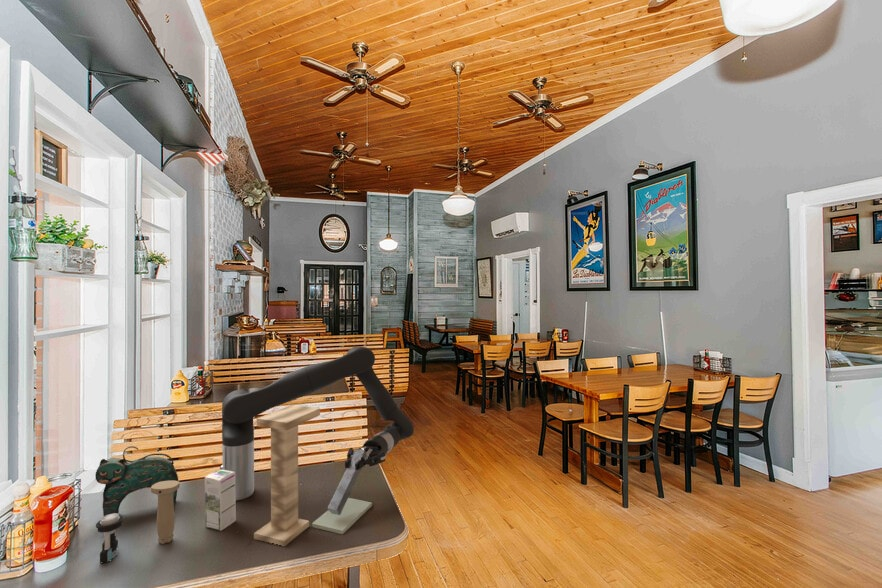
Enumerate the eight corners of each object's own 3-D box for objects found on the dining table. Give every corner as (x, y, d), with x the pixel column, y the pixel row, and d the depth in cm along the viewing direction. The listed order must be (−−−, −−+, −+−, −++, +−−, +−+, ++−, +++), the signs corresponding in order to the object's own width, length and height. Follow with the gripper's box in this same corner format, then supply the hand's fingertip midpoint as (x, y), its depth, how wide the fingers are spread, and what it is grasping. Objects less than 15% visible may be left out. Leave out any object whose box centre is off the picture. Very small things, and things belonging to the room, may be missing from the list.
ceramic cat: (95, 525, 118) (94, 455, 118) (98, 515, 123) (98, 447, 123) (178, 506, 129) (178, 441, 128) (178, 497, 134) (177, 435, 134)
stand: (254, 538, 112) (253, 419, 112) (292, 510, 126) (292, 404, 126) (284, 546, 109) (284, 423, 108) (319, 517, 123) (319, 408, 122)
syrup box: (236, 520, 121) (236, 470, 121) (219, 532, 115) (219, 479, 115) (221, 517, 123) (221, 467, 122) (204, 528, 117) (203, 476, 117)
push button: (104, 549, 107) (104, 510, 107) (129, 545, 109) (129, 507, 109) (92, 565, 101) (91, 524, 101) (118, 561, 103) (118, 521, 102)
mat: (312, 526, 118) (311, 523, 118) (344, 499, 133) (344, 496, 133) (342, 534, 114) (342, 530, 114) (371, 505, 129) (371, 502, 129)
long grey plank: (331, 513, 120) (327, 507, 118) (359, 454, 134) (356, 448, 133) (340, 515, 119) (336, 509, 117) (367, 455, 133) (364, 450, 132)
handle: (173, 546, 109) (172, 488, 109) (147, 547, 108) (146, 489, 108) (183, 535, 114) (183, 480, 113) (158, 535, 113) (158, 480, 113)
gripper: (360, 432, 146) (331, 450, 129) (397, 437, 141) (371, 457, 125) (360, 453, 146) (331, 475, 130) (397, 459, 141) (371, 482, 125)
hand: (351, 466), depth 127 cm, fingers closed on long grey plank, 3 cm apart
